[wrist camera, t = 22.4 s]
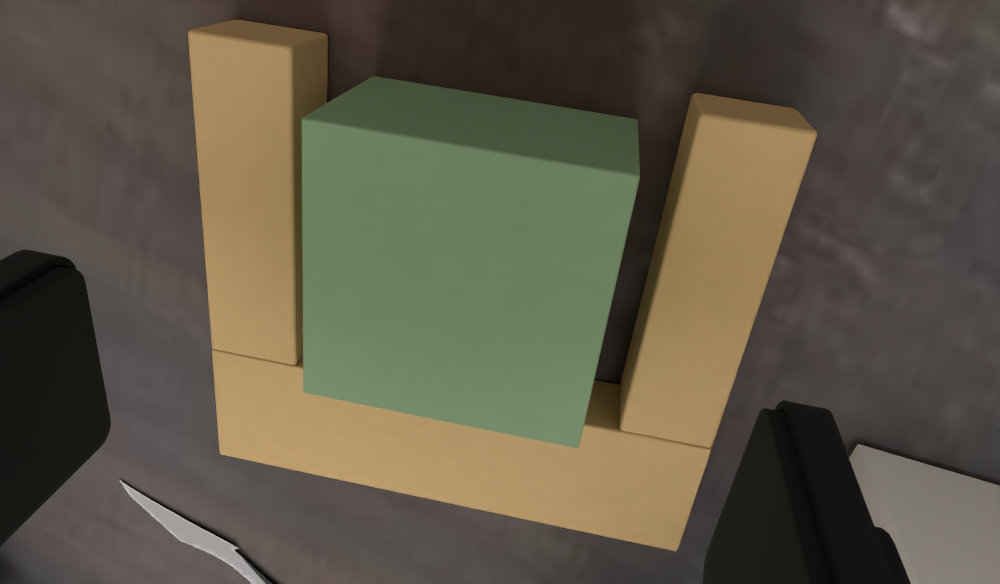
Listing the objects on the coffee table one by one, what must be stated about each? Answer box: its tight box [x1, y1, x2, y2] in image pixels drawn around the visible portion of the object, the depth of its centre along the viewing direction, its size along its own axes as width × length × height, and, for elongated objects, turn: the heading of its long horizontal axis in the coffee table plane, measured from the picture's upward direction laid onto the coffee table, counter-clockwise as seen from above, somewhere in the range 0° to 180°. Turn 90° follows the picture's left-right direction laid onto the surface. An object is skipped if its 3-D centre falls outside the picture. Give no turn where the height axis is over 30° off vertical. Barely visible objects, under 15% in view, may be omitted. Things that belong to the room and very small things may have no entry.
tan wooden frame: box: [188, 19, 817, 551], centre depth 17 cm, size 11×12×2 cm
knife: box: [120, 481, 272, 584], centre depth 24 cm, size 10×2×1 cm, turn 39°
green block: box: [302, 76, 640, 448], centre depth 16 cm, size 6×6×4 cm
